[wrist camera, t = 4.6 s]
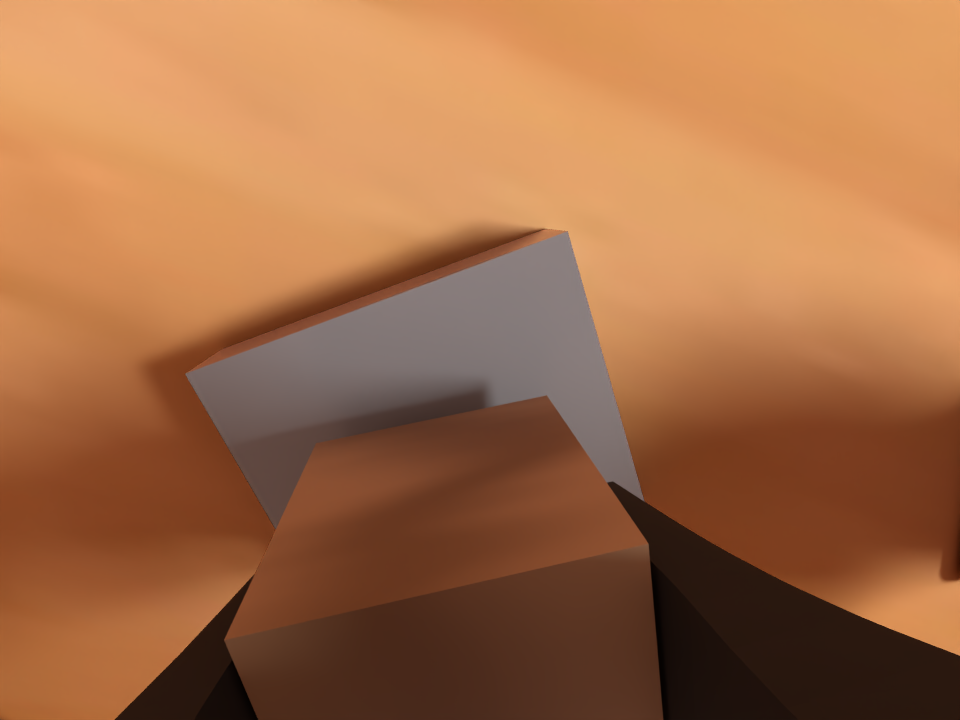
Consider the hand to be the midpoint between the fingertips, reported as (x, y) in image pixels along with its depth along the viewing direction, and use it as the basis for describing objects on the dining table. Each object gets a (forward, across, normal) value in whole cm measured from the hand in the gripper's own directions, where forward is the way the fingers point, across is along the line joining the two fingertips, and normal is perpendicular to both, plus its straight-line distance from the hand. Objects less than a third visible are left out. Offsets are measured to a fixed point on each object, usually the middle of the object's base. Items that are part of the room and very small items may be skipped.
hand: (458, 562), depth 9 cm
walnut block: (+2, 0, 0) cm, 2 cm away
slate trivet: (+6, 0, 0) cm, 6 cm away
